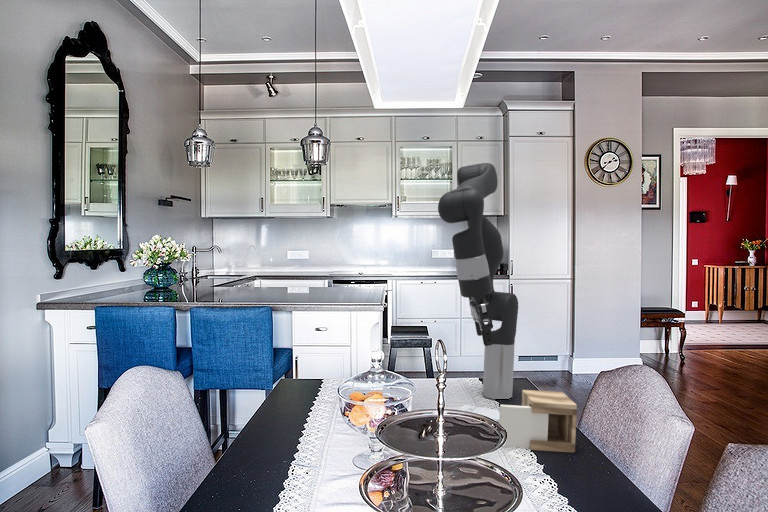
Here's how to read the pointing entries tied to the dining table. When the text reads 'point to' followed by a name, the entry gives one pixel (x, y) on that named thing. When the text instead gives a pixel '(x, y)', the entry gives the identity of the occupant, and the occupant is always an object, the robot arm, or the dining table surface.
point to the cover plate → (523, 425)
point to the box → (553, 419)
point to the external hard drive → (482, 411)
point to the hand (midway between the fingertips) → (485, 339)
